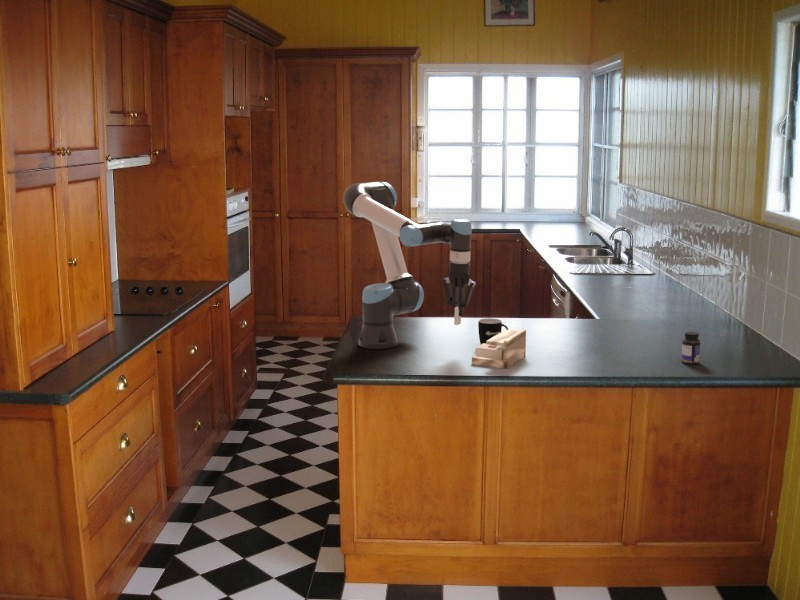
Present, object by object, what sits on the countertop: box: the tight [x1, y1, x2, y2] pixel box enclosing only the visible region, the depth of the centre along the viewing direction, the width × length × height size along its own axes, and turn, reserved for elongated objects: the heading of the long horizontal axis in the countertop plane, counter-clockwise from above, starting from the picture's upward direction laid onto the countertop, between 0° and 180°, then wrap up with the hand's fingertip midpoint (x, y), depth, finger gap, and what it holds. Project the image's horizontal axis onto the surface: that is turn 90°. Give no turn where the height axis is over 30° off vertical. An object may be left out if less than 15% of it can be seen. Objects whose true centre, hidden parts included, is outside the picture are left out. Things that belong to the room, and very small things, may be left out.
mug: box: [477, 317, 509, 345], centre depth 341 cm, size 12×9×10 cm
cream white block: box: [475, 343, 504, 360], centre depth 322 cm, size 10×7×6 cm
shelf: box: [471, 328, 527, 370], centre depth 321 cm, size 14×19×10 cm
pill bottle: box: [681, 330, 701, 365], centre depth 316 cm, size 6×6×11 cm
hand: (457, 323), depth 330 cm, fingers closed
